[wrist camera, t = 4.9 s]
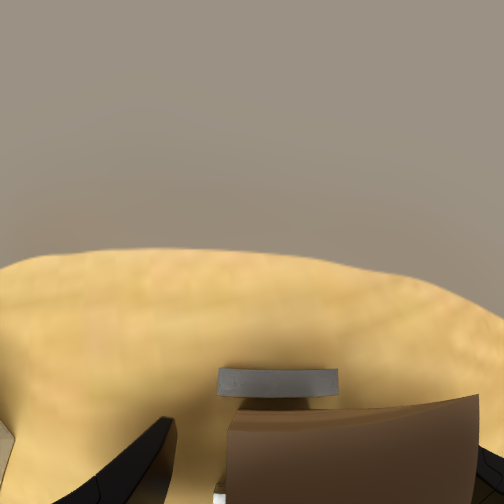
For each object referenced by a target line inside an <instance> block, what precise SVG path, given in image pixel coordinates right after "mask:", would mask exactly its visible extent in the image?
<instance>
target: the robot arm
mask: <svg viewBox="0 0 504 504" xmlns="http://www.w3.org/2000/svg"><path fill="white" fill-rule="evenodd" d="M176 443H177V429H176V424H175V420H174V418H172V417H166V416H162V417H160V418H159V419H158V420H157V421H156V422H155V423H154V424H152V425H151V426H150V427H149V428H148V429H147V430H146V431H145V432H144V433H143V434H142V435H140V436H139V437H138V438H137V439H136V440H135V441H134V442H133V443H132V444H130V445H129V446H128V447H127V448H126V449H125V450H124V451H122V452H121V453H120V454H119V455H118V456H117V457H116V458H114V459H113V460H112V461H111V462H110V463H109V464H107V465H106V466H105V467H104V468H103V469H102V470H100V471H99V472H98V473H97V474H96V476H93V477H92V478H91V479H89V480H88V481H87V482H86V483H84V484H83V485H82V486H80V487H79V488H77V489H76V490H74V491H73V492H71V493H70V494H68V495H66V496H65V497H63V498H61V499H59V500H58V501H56V502H54V503H52V504H164V502H165V498H166V494H167V491H168V487H169V484H170V480H171V476H172V471H173V464H174V457H175V450H176ZM471 504H504V458H502V457H500V456H498V455H496V454H494V453H492V452H490V451H488V450H486V449H485V448H482V447H481V446H478V458H477V468H476V476H475V483H474V489H473V495H472V500H471Z"/></svg>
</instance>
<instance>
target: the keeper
mask: <svg viewBox="0 0 504 504" xmlns="http://www.w3.org/2000/svg"><path fill="white" fill-rule="evenodd" d="M217 395H218V396H224V397H243V398H308V397H326V396H334V395H338V369H322V370H246V369H227V368H219V374H218V392H217ZM225 493H226V484H221V483H217V484H216V487H215V490H214V493H213V504H225Z"/></svg>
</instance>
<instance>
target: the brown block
mask: <svg viewBox="0 0 504 504" xmlns="http://www.w3.org/2000/svg"><path fill="white" fill-rule="evenodd" d="M478 446H479V394H476V395H472V396H467V397H462V398H457V399H452V400H446V401H440V402H434V403H427V404H420V405H411V406H402V407H390V408H376V409H347V410H328V409H300V410H244V409H238V410H237V412H236V414H235V417H234V419H233V421H232V423H231V425H230V427H229V429H228V436H227V462H226V493H225V504H471V500H472V495H473V489H474V483H475V476H476V468H477V458H478Z"/></svg>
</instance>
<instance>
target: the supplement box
mask: <svg viewBox="0 0 504 504" xmlns="http://www.w3.org/2000/svg"><path fill="white" fill-rule="evenodd" d="M14 441H15V439H14V437H13V435H12V434H11V433H10V432H9V430H8V429H7V428H6V427H5V425H4V424H3V423H2V421H1V420H0V485H1V482H2V478H3V474H4V471H5V468H6V465H7V461H8V458H9V455H10V452H11V449H12V447H13V444H14Z"/></svg>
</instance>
